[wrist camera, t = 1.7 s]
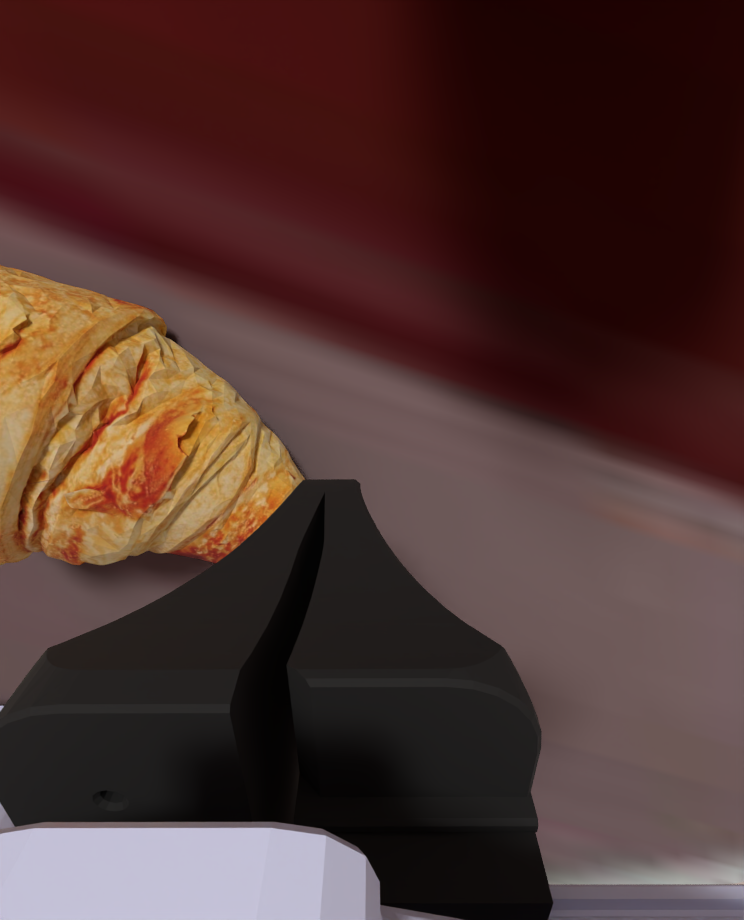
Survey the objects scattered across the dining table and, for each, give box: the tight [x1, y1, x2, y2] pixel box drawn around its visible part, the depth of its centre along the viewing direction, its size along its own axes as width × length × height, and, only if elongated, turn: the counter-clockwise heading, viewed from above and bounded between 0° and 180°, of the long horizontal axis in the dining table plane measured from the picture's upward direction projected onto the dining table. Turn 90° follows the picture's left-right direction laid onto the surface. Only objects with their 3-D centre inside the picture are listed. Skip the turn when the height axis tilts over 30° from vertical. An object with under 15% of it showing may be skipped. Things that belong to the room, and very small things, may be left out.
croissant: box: [0, 265, 305, 565], centre depth 16 cm, size 21×10×8 cm, turn 63°
